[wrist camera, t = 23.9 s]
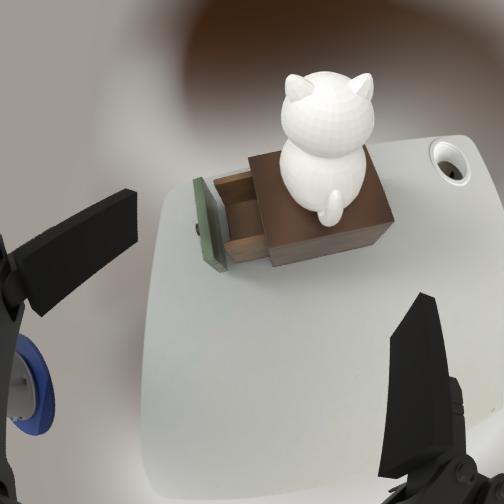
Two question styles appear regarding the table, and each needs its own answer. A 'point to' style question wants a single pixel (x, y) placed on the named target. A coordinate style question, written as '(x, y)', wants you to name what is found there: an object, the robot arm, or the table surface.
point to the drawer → (230, 221)
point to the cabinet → (315, 215)
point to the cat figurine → (326, 140)
